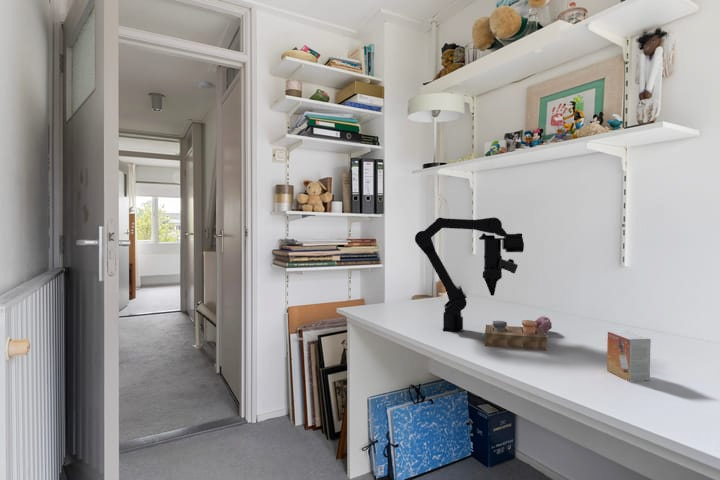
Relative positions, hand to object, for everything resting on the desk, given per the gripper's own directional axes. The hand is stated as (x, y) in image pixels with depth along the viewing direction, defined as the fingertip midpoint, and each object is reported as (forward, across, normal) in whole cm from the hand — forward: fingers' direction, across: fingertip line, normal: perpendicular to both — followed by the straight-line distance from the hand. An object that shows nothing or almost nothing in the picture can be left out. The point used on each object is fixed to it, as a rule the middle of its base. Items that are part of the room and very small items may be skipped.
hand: (492, 295), depth 149 cm
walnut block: (+13, -14, -7) cm, 20 cm away
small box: (+13, -37, -33) cm, 51 cm away
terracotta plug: (+12, -14, -11) cm, 22 cm away
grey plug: (+13, -14, -2) cm, 19 cm away
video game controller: (+13, +3, -16) cm, 21 cm away
